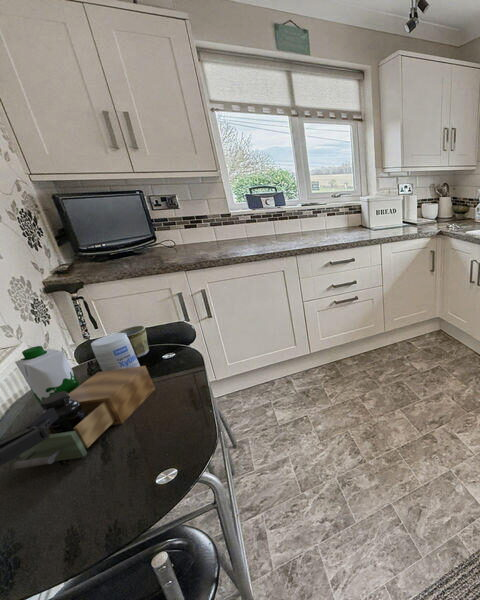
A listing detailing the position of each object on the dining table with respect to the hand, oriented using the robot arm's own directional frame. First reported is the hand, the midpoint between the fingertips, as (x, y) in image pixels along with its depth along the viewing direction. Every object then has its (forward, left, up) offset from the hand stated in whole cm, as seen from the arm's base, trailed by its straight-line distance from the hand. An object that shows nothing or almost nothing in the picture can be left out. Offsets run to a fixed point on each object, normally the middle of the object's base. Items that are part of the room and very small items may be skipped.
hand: (16, 421), depth 70 cm
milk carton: (-16, +26, -15) cm, 34 cm away
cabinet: (0, +22, -15) cm, 27 cm away
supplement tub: (-9, +41, -15) cm, 45 cm away
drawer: (0, +7, -14) cm, 16 cm away
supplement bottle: (0, +9, -13) cm, 16 cm away
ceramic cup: (-16, +59, -15) cm, 63 cm away
